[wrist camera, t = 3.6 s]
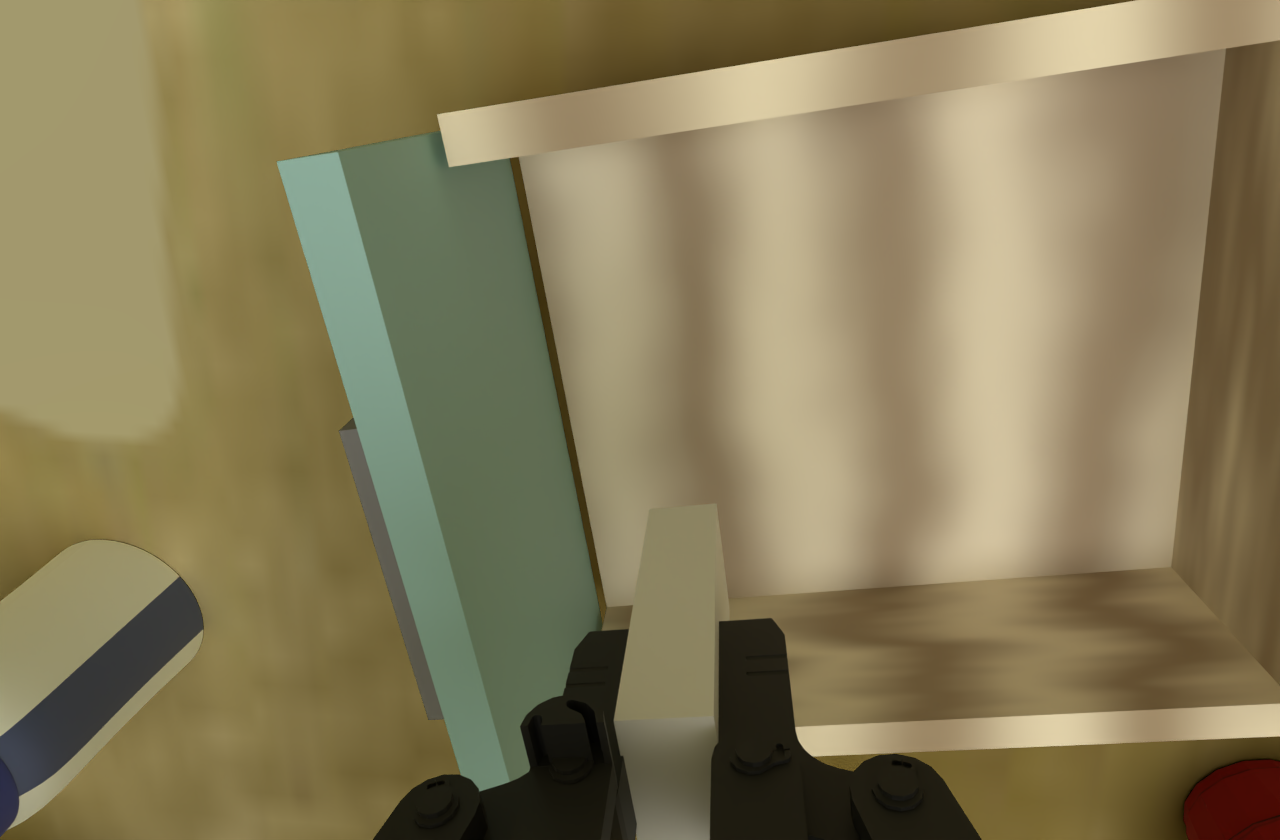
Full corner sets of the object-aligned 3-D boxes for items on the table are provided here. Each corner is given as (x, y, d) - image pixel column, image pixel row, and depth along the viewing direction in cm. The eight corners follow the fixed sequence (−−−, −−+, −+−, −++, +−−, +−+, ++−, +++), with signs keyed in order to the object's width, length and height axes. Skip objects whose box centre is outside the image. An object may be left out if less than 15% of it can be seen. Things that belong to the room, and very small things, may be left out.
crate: (620, 589, 36) (540, 985, 20) (529, 102, 28) (292, 133, 13) (1163, 549, 33) (1566, 981, 17) (1219, -10, 25) (2020, -150, 10)
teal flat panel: (554, 627, 33) (470, 901, 22) (441, 129, 26) (236, 168, 15) (602, 624, 33) (542, 899, 22) (502, 120, 26) (337, 151, 15)
